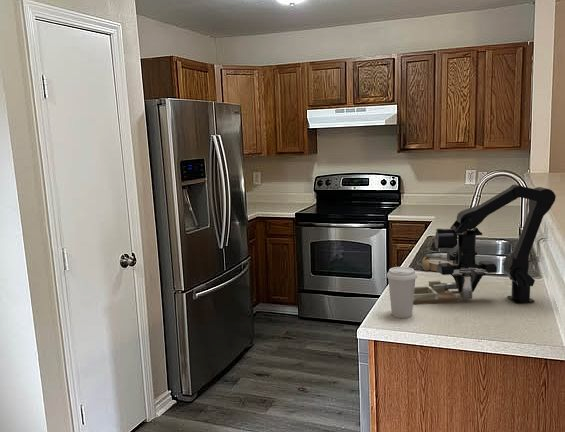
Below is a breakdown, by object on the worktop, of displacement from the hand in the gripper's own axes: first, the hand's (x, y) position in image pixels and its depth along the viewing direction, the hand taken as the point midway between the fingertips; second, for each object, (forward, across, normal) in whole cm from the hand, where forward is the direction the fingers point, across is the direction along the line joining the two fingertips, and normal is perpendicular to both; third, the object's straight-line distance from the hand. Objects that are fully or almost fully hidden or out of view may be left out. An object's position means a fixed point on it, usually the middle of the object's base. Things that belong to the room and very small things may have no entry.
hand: (466, 291), depth 176 cm
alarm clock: (+4, -3, -43) cm, 43 cm away
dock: (+3, +11, -6) cm, 13 cm away
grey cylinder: (+2, 0, 0) cm, 2 cm away
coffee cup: (+3, +25, +10) cm, 27 cm away
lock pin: (+3, +1, -10) cm, 11 cm away
